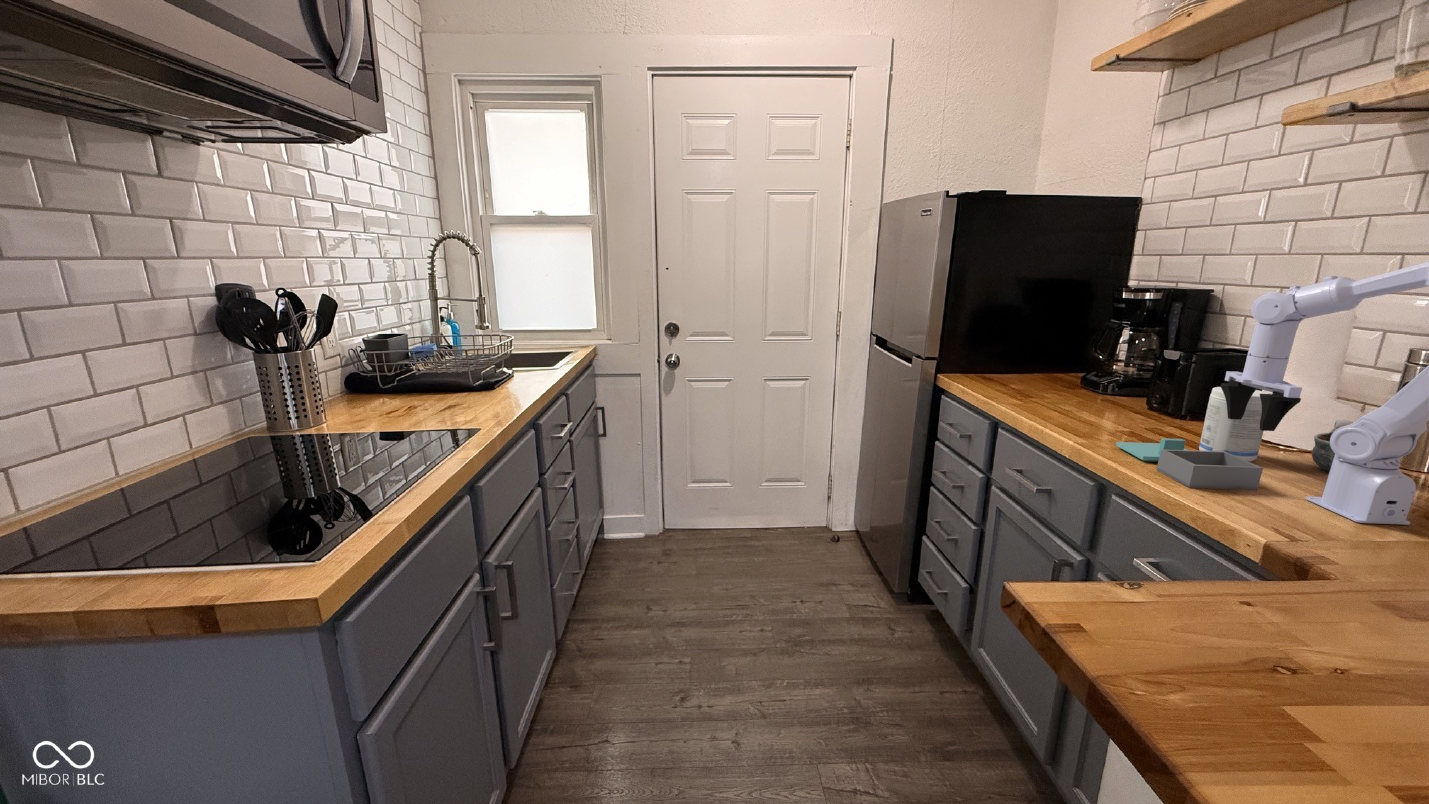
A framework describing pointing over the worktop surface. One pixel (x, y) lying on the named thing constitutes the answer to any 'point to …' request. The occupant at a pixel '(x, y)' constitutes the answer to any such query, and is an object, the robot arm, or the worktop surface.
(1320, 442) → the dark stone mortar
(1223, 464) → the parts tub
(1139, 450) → the lid
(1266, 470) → the worktop surface
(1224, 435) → the supplement tub
